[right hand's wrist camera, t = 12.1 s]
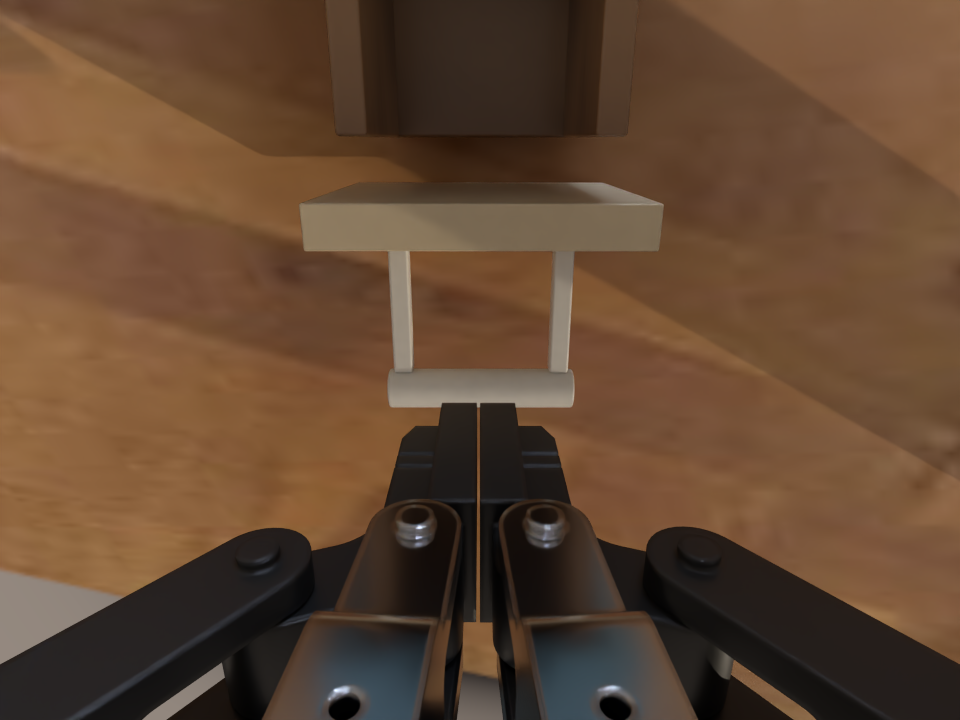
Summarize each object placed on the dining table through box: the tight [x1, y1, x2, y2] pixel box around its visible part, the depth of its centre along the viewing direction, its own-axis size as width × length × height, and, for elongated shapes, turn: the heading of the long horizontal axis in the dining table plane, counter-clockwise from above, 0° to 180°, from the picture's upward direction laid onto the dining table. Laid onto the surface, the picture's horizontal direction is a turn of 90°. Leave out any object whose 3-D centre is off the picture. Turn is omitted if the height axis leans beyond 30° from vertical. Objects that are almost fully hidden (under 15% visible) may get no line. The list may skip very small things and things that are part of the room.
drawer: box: [299, 0, 664, 407], centre depth 17 cm, size 23×9×8 cm, turn 0°
